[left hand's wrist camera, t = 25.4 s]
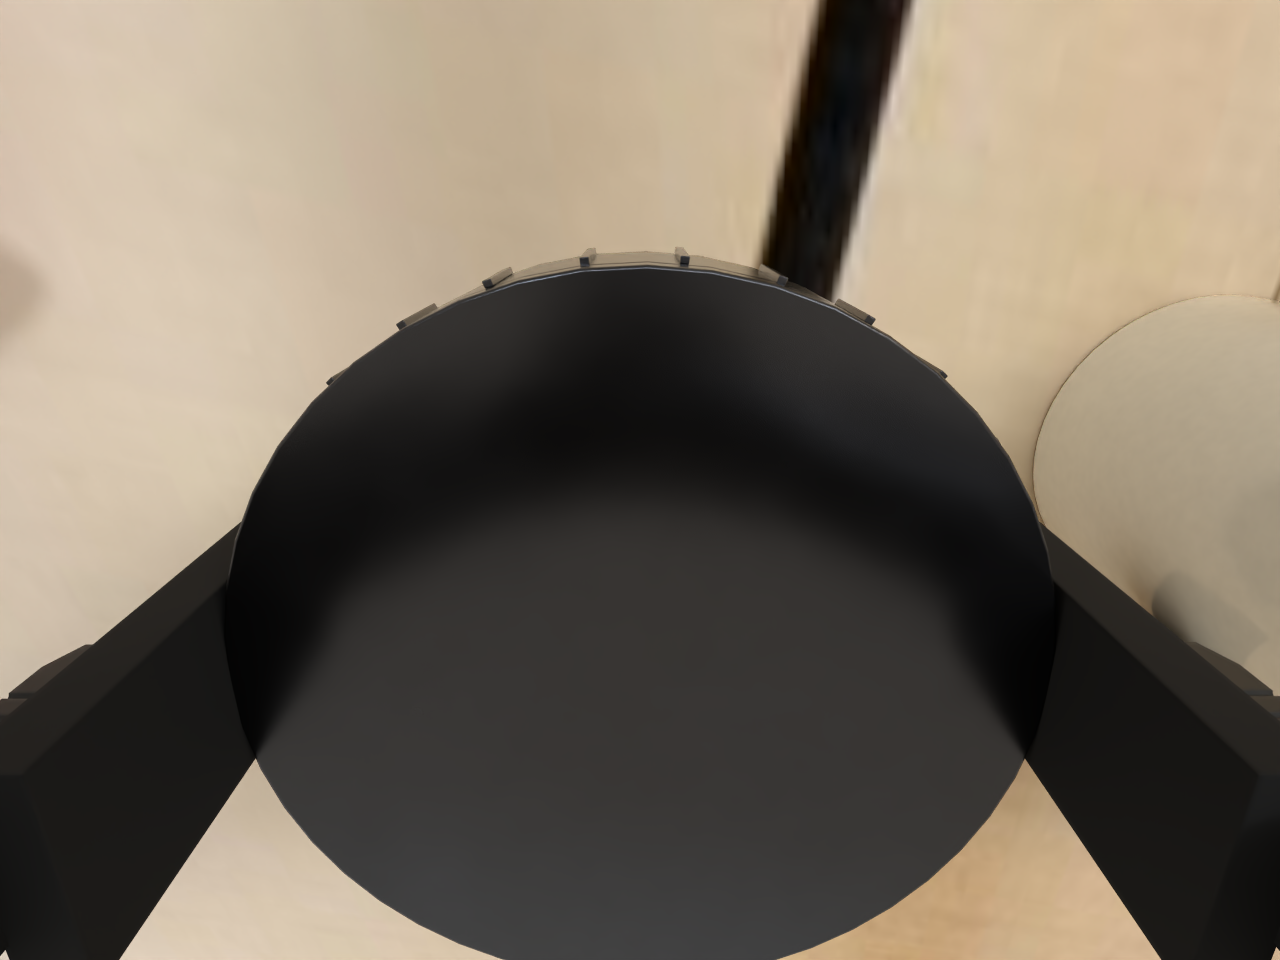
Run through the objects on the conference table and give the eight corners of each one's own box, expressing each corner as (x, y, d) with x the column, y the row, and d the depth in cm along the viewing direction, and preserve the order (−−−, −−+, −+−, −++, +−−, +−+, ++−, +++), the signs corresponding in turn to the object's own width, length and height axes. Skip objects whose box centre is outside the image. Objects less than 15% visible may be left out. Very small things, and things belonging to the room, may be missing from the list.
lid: (792, 943, 15) (814, 1057, 13) (216, 756, 13) (142, 854, 11) (1141, 436, 11) (1246, 489, 9) (408, 101, 10) (349, 78, 8)
